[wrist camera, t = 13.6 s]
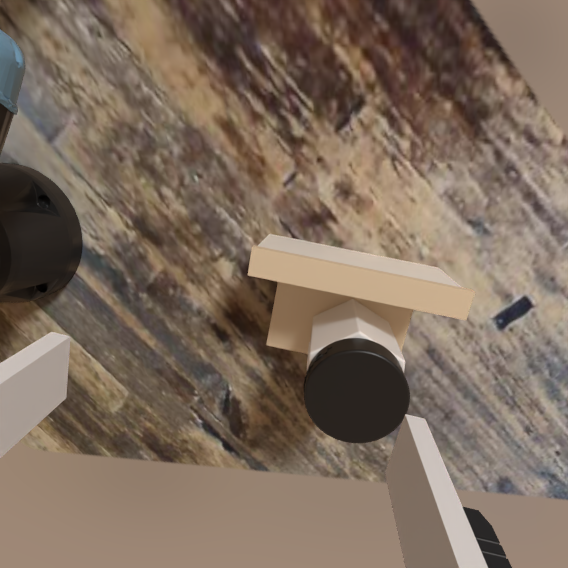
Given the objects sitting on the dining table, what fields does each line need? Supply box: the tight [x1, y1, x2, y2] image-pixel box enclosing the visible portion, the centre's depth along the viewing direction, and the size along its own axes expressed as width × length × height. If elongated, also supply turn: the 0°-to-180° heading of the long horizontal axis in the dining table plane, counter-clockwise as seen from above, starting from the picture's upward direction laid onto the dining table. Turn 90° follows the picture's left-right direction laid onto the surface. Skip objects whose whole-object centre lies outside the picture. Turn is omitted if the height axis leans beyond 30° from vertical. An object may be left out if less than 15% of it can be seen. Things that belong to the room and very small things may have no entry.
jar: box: [304, 299, 410, 443], centre depth 38 cm, size 9×8×12 cm
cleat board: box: [248, 234, 475, 354], centre depth 40 cm, size 18×12×11 cm, turn 80°
